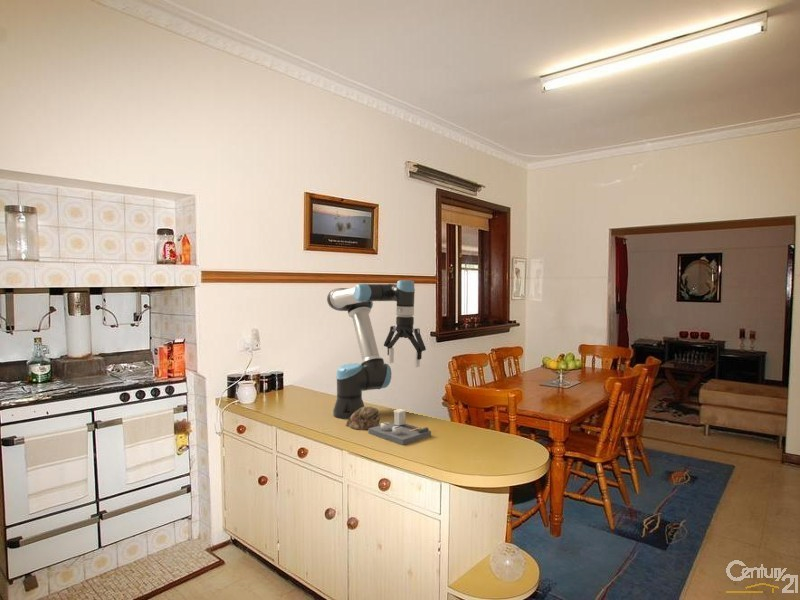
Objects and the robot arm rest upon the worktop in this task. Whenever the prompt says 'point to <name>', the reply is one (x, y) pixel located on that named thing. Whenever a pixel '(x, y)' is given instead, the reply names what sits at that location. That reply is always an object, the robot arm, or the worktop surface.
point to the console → (399, 432)
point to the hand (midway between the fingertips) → (403, 364)
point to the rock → (364, 418)
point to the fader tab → (399, 417)
